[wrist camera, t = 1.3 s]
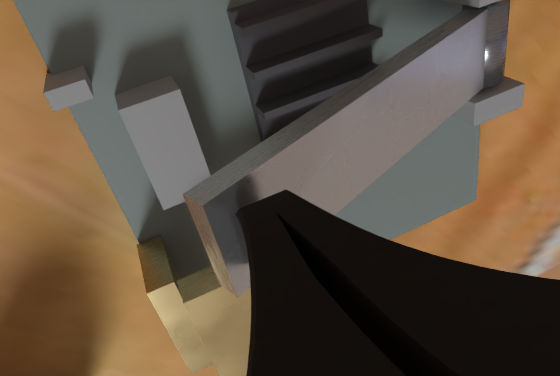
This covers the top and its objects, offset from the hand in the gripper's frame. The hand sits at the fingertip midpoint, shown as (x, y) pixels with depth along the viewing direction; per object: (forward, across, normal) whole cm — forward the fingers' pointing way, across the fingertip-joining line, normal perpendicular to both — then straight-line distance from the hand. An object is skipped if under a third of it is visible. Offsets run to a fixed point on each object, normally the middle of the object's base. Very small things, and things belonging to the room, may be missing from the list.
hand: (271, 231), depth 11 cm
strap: (+4, -5, 0) cm, 6 cm away
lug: (+8, +1, +6) cm, 10 cm away
